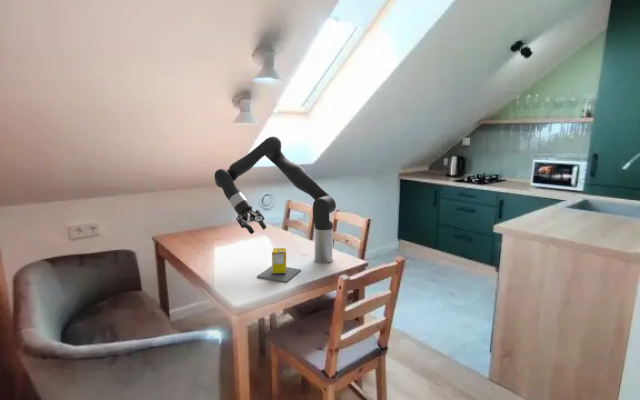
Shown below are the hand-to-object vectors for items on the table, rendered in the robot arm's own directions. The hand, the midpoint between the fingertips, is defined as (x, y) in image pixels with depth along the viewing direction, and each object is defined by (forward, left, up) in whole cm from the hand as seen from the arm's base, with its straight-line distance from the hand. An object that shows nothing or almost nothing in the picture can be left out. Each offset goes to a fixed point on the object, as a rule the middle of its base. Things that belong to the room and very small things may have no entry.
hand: (259, 230), depth 174 cm
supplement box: (+2, +11, -19) cm, 22 cm away
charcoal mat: (+2, +12, -19) cm, 23 cm away
